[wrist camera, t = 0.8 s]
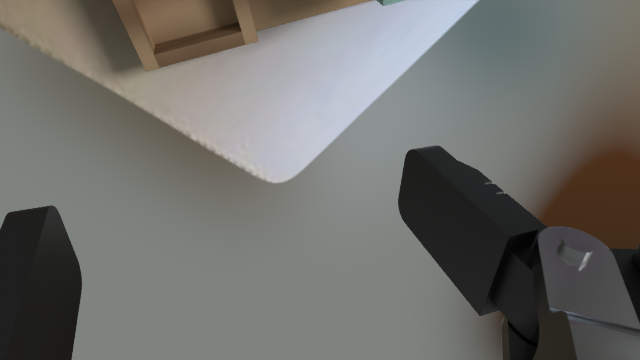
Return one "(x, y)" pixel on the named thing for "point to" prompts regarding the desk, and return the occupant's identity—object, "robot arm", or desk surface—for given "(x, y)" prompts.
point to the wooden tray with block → (209, 24)
